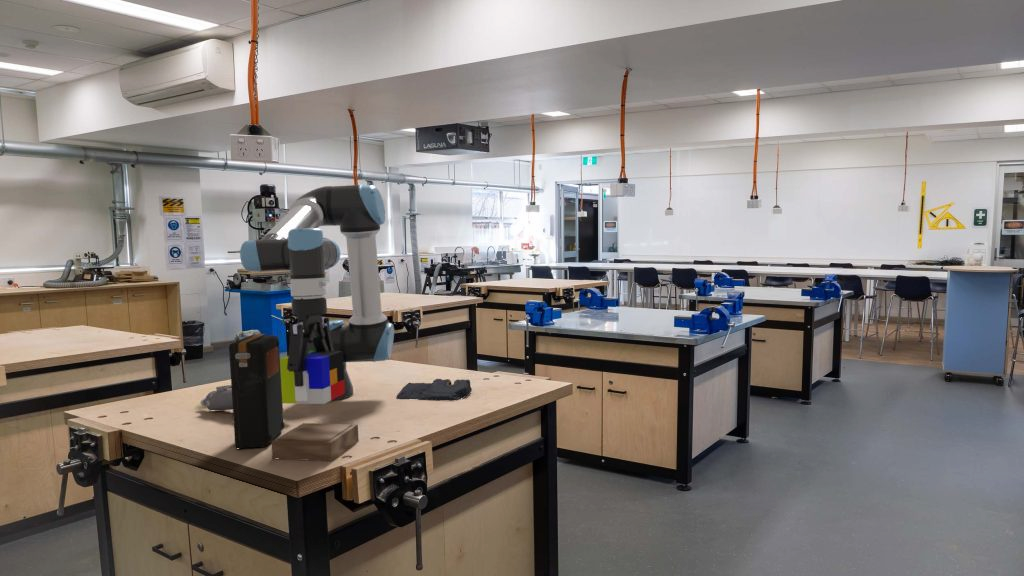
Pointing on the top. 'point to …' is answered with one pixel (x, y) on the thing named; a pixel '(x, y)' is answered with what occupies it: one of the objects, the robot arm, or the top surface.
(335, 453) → the plinth
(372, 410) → the top surface
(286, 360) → the puzzle toy
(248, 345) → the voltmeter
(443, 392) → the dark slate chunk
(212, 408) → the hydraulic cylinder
